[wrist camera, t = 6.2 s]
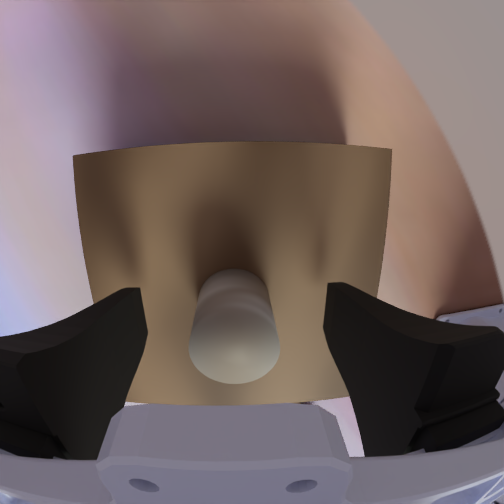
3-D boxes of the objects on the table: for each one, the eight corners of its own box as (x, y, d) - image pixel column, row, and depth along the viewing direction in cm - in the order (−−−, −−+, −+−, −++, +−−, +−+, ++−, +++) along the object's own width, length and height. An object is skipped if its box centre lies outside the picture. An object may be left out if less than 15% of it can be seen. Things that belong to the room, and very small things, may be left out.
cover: (350, 146, 16) (441, 153, 8) (332, 346, 20) (373, 440, 12) (114, 151, 15) (23, 162, 7) (141, 351, 20) (107, 447, 12)
